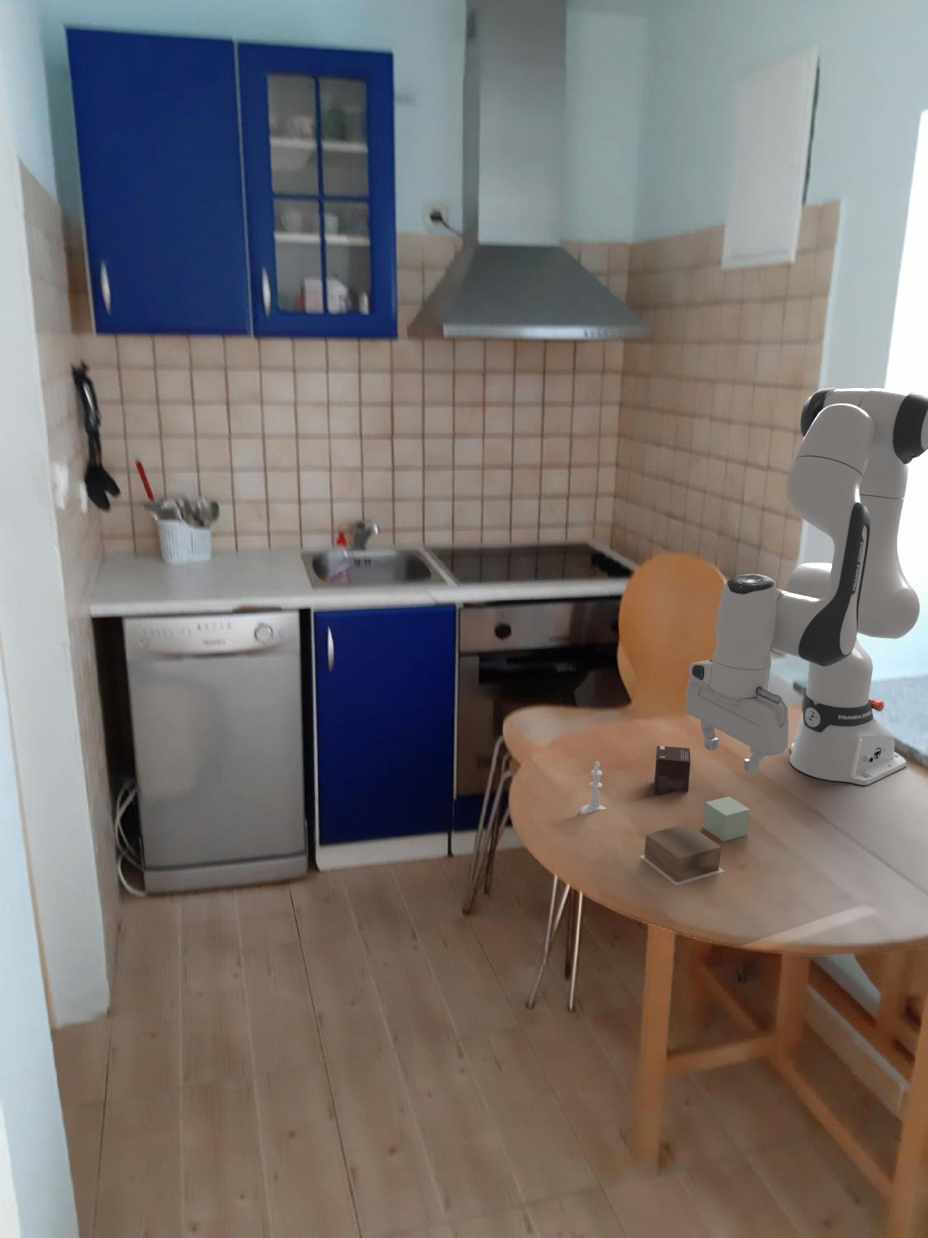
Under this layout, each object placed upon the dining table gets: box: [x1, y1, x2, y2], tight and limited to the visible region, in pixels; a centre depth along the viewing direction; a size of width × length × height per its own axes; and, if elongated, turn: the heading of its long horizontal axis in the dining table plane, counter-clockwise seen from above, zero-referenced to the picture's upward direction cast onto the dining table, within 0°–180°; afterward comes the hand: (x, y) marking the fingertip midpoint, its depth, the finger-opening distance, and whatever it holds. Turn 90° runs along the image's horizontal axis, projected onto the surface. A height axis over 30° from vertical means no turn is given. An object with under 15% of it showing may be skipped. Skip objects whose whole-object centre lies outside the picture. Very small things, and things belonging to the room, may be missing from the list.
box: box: [653, 745, 692, 796], centre depth 173 cm, size 6×6×7 cm
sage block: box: [702, 796, 751, 842], centre depth 156 cm, size 5×5×6 cm
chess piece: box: [579, 760, 607, 816], centre depth 163 cm, size 5×5×10 cm
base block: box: [644, 823, 722, 882], centre depth 146 cm, size 8×8×4 cm
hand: (730, 759), depth 152 cm, fingers open, 8 cm apart
